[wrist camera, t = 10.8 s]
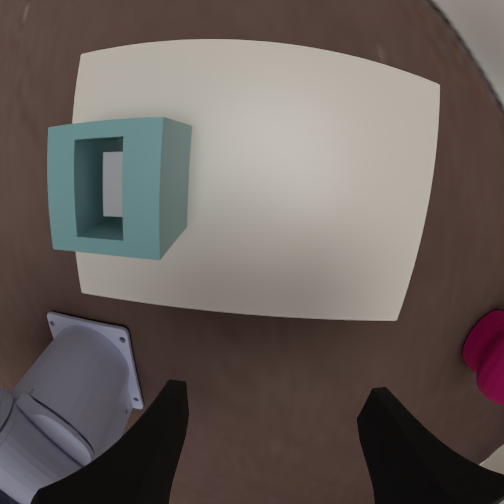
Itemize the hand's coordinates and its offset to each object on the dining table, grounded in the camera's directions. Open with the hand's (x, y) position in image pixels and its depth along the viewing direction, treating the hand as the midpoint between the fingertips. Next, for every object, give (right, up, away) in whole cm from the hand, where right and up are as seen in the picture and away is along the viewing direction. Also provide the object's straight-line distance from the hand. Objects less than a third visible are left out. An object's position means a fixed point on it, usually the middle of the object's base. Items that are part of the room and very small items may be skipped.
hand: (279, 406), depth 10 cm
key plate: (-1, +10, +6) cm, 12 cm away
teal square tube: (-7, +10, +5) cm, 13 cm away
